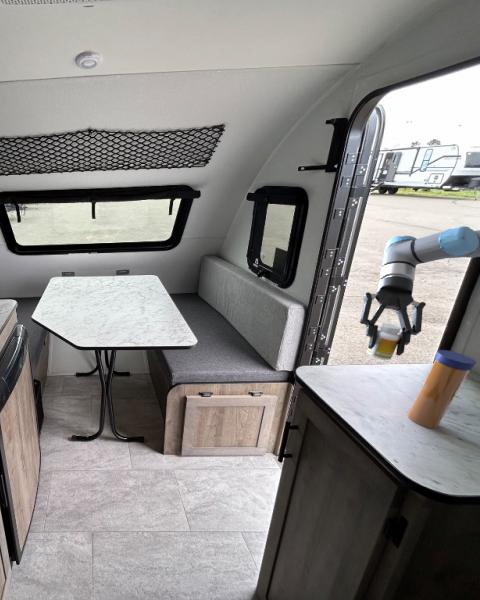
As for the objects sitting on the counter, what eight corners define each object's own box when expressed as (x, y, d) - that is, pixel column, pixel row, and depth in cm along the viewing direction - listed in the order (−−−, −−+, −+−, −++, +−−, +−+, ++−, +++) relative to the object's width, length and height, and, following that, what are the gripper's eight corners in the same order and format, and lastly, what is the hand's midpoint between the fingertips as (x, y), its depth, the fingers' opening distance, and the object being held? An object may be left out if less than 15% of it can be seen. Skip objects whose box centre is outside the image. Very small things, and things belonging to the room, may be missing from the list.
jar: (433, 419, 84) (467, 357, 77) (440, 431, 80) (477, 367, 73) (404, 410, 87) (435, 350, 80) (409, 422, 82) (442, 359, 76)
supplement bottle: (395, 360, 93) (409, 329, 90) (380, 361, 92) (393, 330, 89) (376, 350, 98) (389, 321, 95) (362, 351, 97) (374, 322, 94)
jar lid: (467, 362, 78) (470, 355, 77) (477, 373, 73) (481, 367, 72) (431, 353, 81) (434, 347, 80) (438, 364, 76) (442, 357, 76)
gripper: (431, 294, 96) (423, 365, 89) (353, 281, 106) (341, 345, 99) (445, 281, 90) (437, 356, 83) (361, 269, 100) (348, 335, 93)
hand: (385, 350), depth 91 cm, fingers closed on supplement bottle, 5 cm apart
